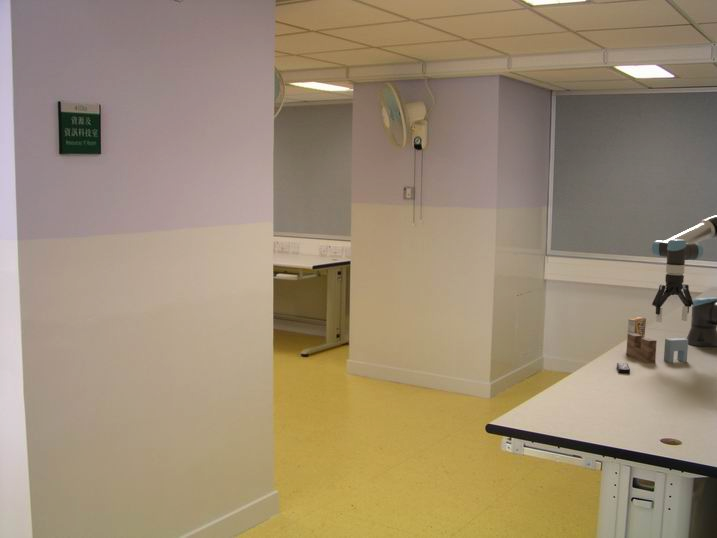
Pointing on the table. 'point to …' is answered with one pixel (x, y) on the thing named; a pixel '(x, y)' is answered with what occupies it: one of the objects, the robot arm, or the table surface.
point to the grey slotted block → (676, 349)
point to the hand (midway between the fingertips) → (671, 321)
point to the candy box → (637, 326)
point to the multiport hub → (623, 368)
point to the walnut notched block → (641, 348)
